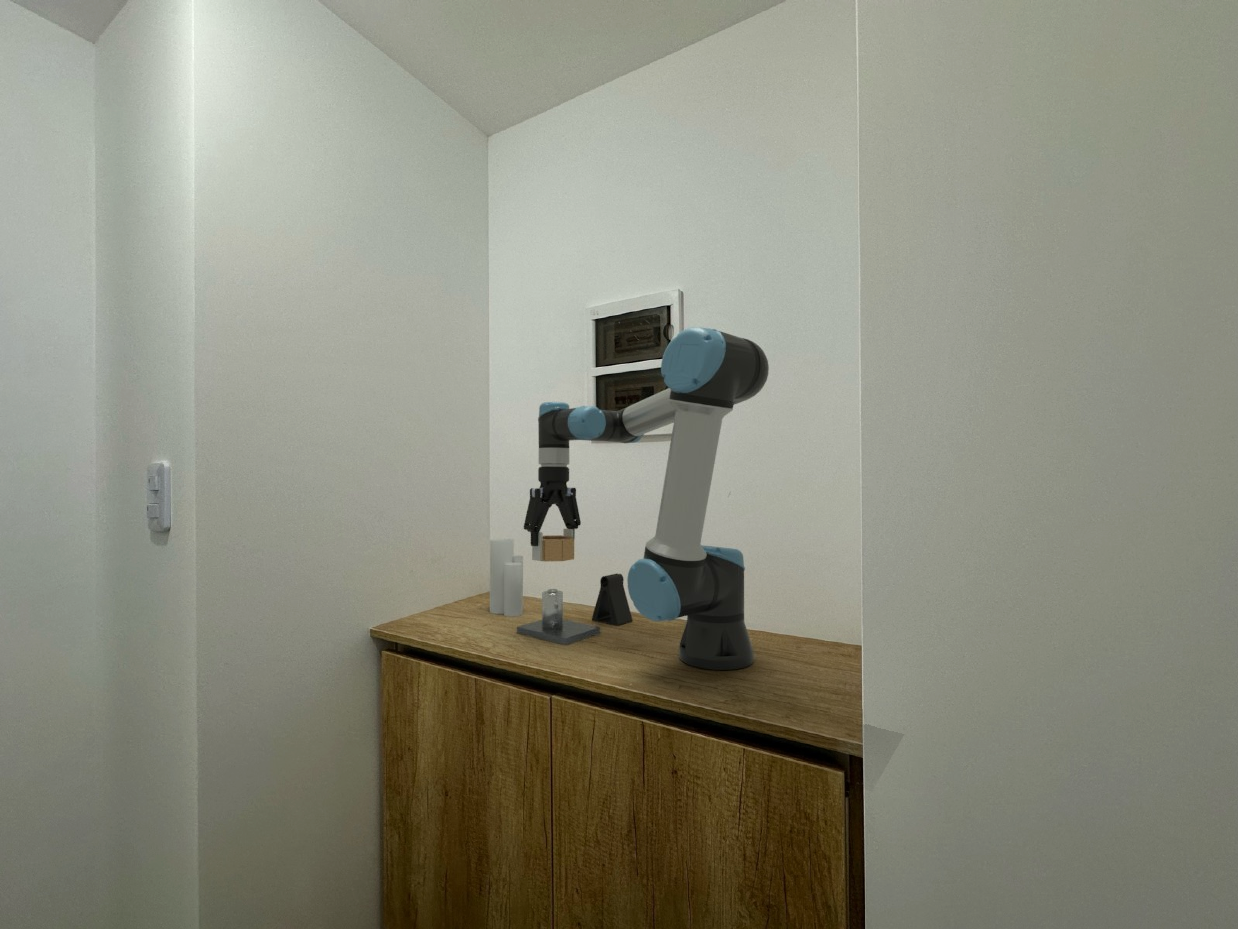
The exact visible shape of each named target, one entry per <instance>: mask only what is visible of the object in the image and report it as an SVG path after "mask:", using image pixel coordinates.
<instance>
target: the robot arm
mask: <svg viewBox="0 0 1238 929" xmlns="http://www.w3.org/2000/svg"><path fill="white" fill-rule="evenodd" d="M661 359H662V360H661V364H660V371H661V377H662V378H664V379H663V382H664V383H665V386H667V387H668V388H666V389H664V390H662V391H659V392H657V393H655V394H653V395H651V396H649V397H646V398H644V399H642V400H640V401H637V402H636V403H632V404H631V405H629V406H627V407H625V408H622V409H620V410H609V409H608V410H606V409H599V407H597V406H595V405H594V406H593V405H587V406H585V405H581V406H578V407H573V408H570V405H569V403H566V402H563V401H547V402H542V403H540V405H539V408H538V409H539V410H538V411H539V412H538V418H537V421H538V424H537V425H538V464H539V465H540V466H539V467H538V470H537V471H538V472H537V475H538V477H537V478H538V479H537V480H538V482H540V486H539V488H537V487H536V488H533V487H531V488H530V489H529V501H528V504H527V510H526V514H525V520H524V523H523V530H526V531H527V532H528V533H530V546H531V560H533V561H537V560H542V540H543V536H544V535H543V534H544V533H543V531H542V532H541V529H542V526H543V524H544V522H545V519H546V517H547V514H548V512H549V510H550V508H551V507H552V506H553V505H555V506H556V507H557V508H558V510H559V513H560V516H561V519H562V520H563V522H564V525H565V527H566V528H563V536H573V537H574V540H575V538H576V537H575V534H576V533H575V532H576V531H575V530H578V528H579V527H580V526H581V524H582V522H581V517H580V511H579V506H578V501H577V489H576V487H568V484H567V483H568V482H569V481H570V468H569V467H568V465H569V464H570V441H589V442H590V441H593V442H609V443H621V444H631V443H632V444H633V443H637V442H640V440H641V439H642V437H643V438H644V435H645V434H648V433H650V432H653V431H655V430H658V429H660V428H663V427H665V426H668V425H671V424H672V425H673V426H672V432H671V438H670V444H669V450H668V456H667V460H666V461H667V462H666V467H665V473H664V474H665V475H664V481H663V487H662V492H661V500H660V505H659V511H658V516H657V517H658V518H657V524H656V530H655V535H654V536H653V537H652V538H651V539H649V540H647V541H646V542H645V546H644V552H643V558H639V559H637V561H635V562H634V564H633V563H632V565H631V566H630V568H629V570H628V573H627V579H626V580H627V589H628V595H629V597H630V600H631V601H632V604H633V606H634V607H635V608H636V611H637V612H638V613H639V614H640V615H642V616H643V617H644V618H646V619H647V620H649V621H652V622H658V623H659V622H665V621H669V622H670V621H674V620H676V619H679V618H682V617H687V618H686V623H685V626H684V628H683V632H682V636H681V638H680V641H679V644H678V657H679V660H680V661H682V662H683V663H684V664H687V665H689V666H692V667H694V668H700V669H704V670H705V669H706V670H712V671H713V670H715V671H732V670H739V669H743V668H746V667H749V666H750V665H752V664H753V663H754V647H753V644H752V642H751V639H750V636H749V632H748V629H747V626H746V624H745V622H746V621H745V570H746V567H745V564H744V554H743V552H742V550H740V549H737V548H733V547H732V548H730V547H721V546H712V545H701V542H702V537H703V536H702V535H703V530H704V526H705V525H704V524H705V519H706V516H707V515H706V514H707V507H708V502H709V499H710V498H709V496H710V492H711V485H712V479H713V475H714V474H713V473H714V467H715V464H716V458H717V457H716V456H717V450H718V446H719V440H720V434H721V429H722V423H723V419H724V417H725V416H727V415H728V414H730V413H731V412H732V411H733V410H734V405H737V404H740V403H742V402H745V401H748V400H749V399H750V400H751V399H752V398H753V397H755V396H757V394H758V393H760V392H761V391H762V390H763V388H764V387H765V385H766V383H767V381H768V377H769V359H768V358H767V355H766V353H765V351H764V350H763V349H762V348H761V347H760V346H759V345H758V344H757V343H755V342H754V341H752V340H750V339H748V338H744V337H739V336H736V335H733V334H730V333H727V332H724V331H720V330H717V329H715V328H708V327H707V328H706V327H701V326H694V327H688V328H685V329H684V330H682V331H680V332H679V333H678V334H677V336H675V337H673V338H672V339H671V340H670V342H669V343H668V345H667V347H666V348H665V349H664V352H663V356H662V358H661Z"/></svg>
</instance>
